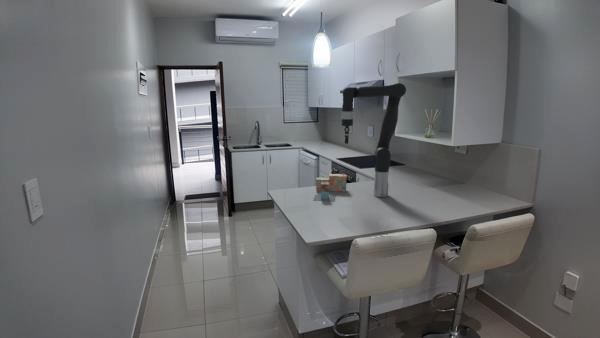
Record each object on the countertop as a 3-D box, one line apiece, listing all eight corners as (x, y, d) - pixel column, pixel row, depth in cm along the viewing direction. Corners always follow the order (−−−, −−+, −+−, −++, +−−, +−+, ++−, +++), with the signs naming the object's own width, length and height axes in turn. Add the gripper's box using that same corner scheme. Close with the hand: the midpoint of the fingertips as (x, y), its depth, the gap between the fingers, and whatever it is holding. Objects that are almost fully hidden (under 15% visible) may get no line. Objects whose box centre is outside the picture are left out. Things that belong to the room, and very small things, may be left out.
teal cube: (328, 197, 218) (329, 189, 217) (328, 199, 213) (328, 191, 212) (321, 196, 218) (321, 189, 217) (320, 199, 214) (320, 191, 213)
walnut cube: (329, 189, 217) (329, 182, 215) (328, 191, 212) (328, 184, 211) (321, 189, 217) (321, 182, 216) (320, 191, 213) (320, 184, 211)
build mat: (336, 196, 222) (336, 195, 221) (334, 203, 208) (334, 201, 208) (315, 195, 224) (315, 194, 223) (313, 202, 210) (313, 200, 210)
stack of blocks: (315, 192, 233) (316, 175, 231) (316, 189, 240) (316, 173, 237) (346, 193, 231) (346, 176, 228) (346, 190, 237) (346, 174, 234)
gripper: (353, 119, 208) (352, 144, 211) (353, 117, 222) (352, 141, 225) (341, 119, 209) (340, 144, 212) (341, 117, 223) (341, 141, 226)
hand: (346, 142), depth 219 cm, fingers open, 8 cm apart
